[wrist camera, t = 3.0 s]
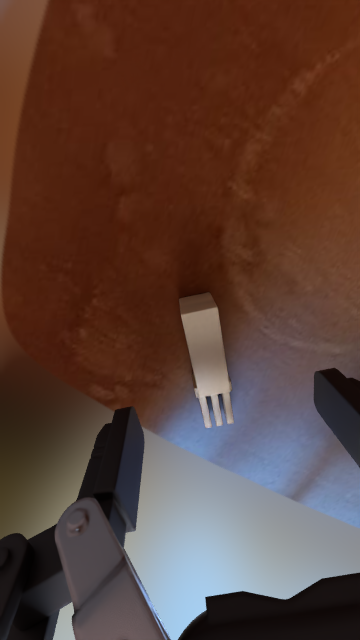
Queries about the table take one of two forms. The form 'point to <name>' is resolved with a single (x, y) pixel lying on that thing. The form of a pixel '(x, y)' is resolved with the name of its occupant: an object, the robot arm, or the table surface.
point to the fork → (207, 355)
